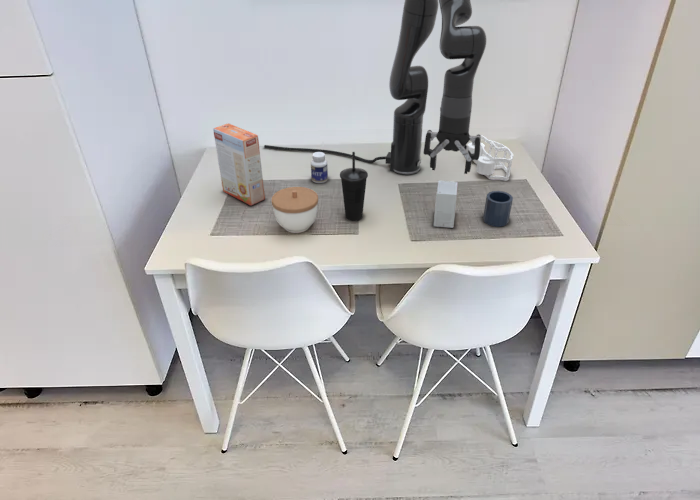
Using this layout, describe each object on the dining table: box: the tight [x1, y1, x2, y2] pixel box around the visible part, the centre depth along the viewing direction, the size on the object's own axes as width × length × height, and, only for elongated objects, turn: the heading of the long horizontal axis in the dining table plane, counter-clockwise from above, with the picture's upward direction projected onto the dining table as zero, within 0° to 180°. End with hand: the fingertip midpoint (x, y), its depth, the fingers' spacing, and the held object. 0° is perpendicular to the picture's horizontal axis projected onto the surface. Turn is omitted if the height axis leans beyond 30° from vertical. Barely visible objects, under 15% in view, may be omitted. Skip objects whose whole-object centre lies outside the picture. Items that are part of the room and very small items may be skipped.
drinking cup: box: [339, 151, 369, 222], centre depth 147 cm, size 8×8×20 cm
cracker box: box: [212, 122, 266, 206], centre depth 158 cm, size 14×6×21 cm, turn 47°
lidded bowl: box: [270, 186, 319, 234], centre depth 146 cm, size 13×13×11 cm
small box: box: [433, 179, 459, 229], centre depth 148 cm, size 8×6×10 cm
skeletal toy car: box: [467, 134, 514, 182], centre depth 175 cm, size 20×11×7 cm, turn 7°
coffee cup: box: [482, 190, 514, 228], centre depth 148 cm, size 7×7×8 cm
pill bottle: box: [310, 152, 329, 184], centre depth 169 cm, size 5×5×9 cm
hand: (449, 170), depth 142 cm, fingers open, 8 cm apart
